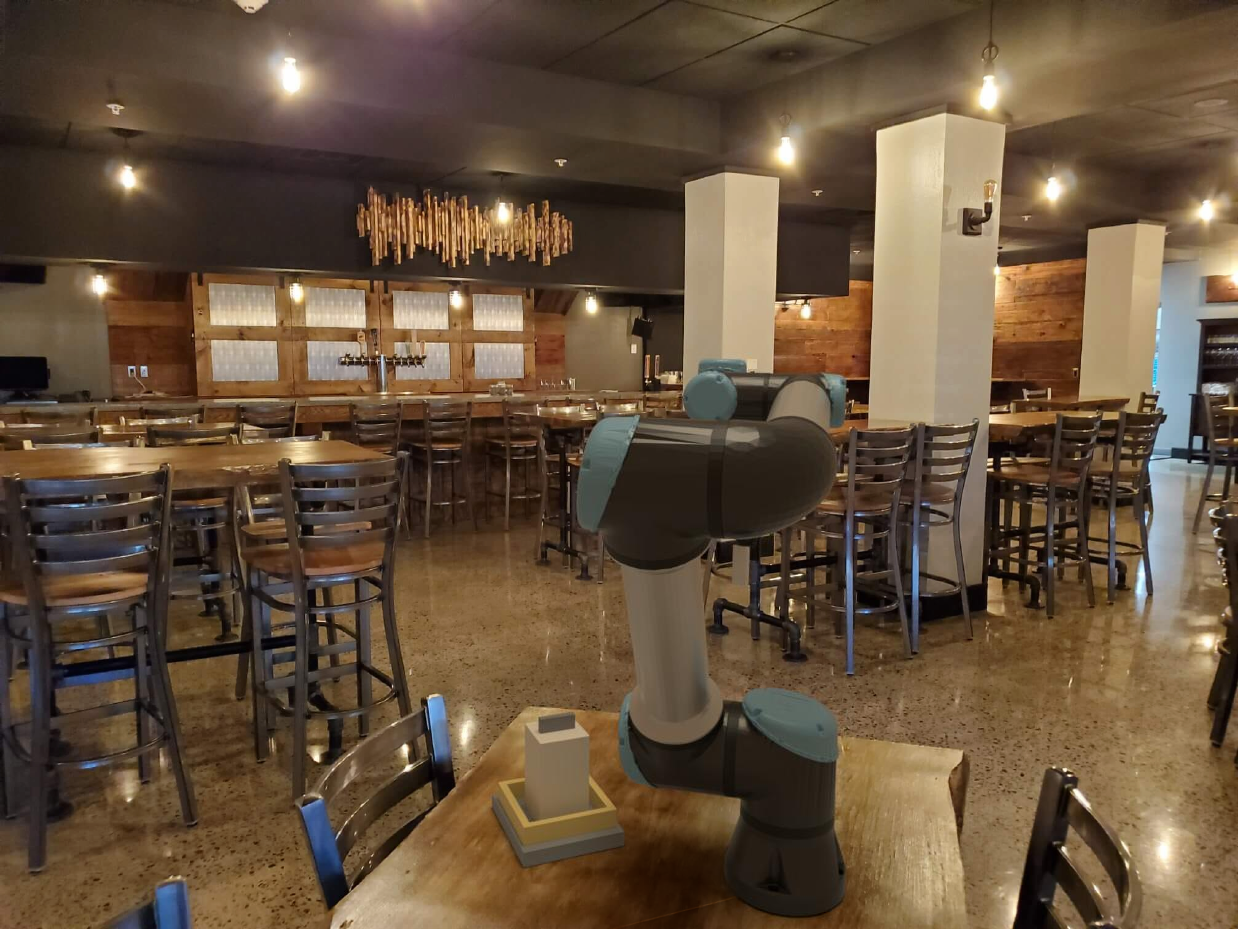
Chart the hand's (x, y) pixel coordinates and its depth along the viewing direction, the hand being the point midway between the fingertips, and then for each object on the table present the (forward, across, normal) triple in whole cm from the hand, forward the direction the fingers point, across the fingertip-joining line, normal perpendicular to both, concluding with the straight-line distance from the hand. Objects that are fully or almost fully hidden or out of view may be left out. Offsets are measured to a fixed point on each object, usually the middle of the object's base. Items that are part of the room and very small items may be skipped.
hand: (715, 593), depth 134 cm
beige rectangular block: (+27, +30, -5) cm, 40 cm away
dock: (+29, +30, -5) cm, 42 cm away
